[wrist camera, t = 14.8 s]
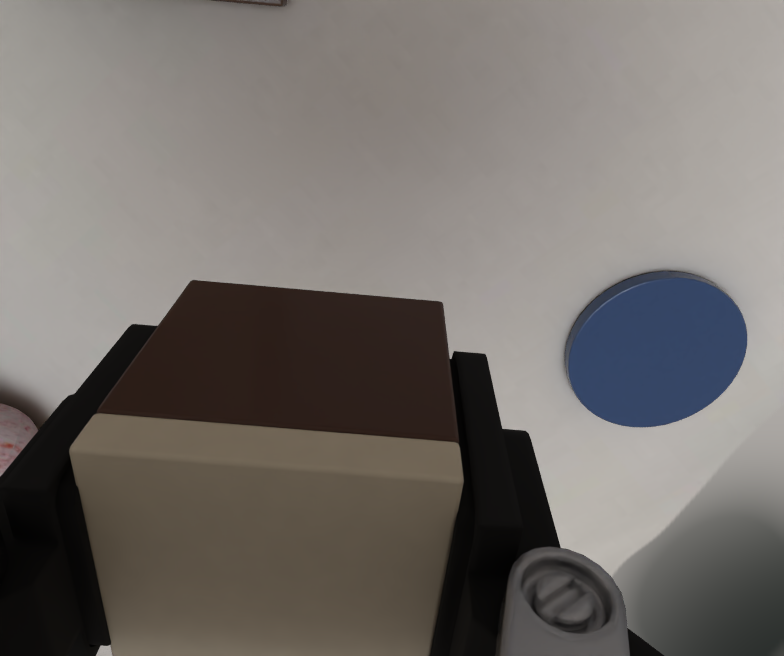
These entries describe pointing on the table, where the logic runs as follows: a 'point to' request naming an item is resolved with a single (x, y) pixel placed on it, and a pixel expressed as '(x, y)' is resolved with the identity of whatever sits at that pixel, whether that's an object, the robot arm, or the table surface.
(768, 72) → the table surface
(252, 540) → the two-tone brown cube
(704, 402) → the plate
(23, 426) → the ice cream cone
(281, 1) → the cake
